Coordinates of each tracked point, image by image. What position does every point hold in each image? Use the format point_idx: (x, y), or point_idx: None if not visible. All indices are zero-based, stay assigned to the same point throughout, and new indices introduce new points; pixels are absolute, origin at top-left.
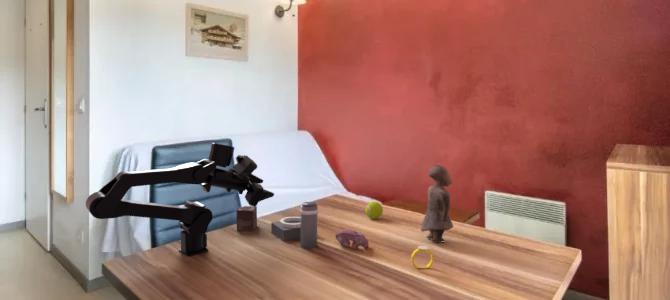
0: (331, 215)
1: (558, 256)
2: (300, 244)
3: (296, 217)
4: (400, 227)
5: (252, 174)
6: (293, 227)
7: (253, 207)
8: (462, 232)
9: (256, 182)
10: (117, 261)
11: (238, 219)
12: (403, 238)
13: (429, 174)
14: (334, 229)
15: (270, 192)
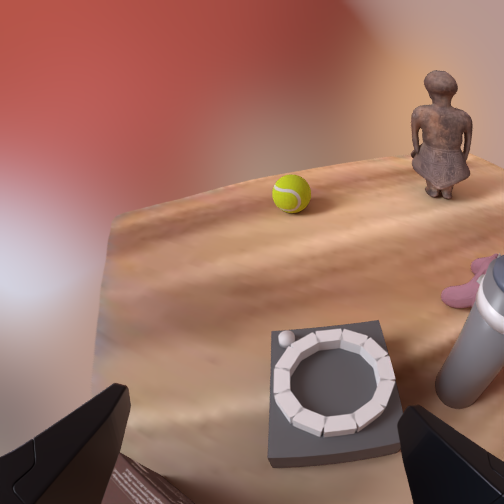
0: (218, 258)
1: (478, 160)
2: (462, 405)
3: (296, 353)
4: (365, 200)
5: (16, 465)
6: (389, 397)
7: (122, 472)
8: (404, 169)
9: (109, 463)
10: None
11: None
12: (426, 215)
13: (444, 86)
14: (336, 287)
15: (457, 432)
